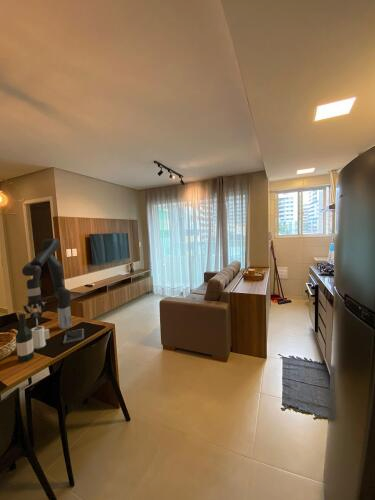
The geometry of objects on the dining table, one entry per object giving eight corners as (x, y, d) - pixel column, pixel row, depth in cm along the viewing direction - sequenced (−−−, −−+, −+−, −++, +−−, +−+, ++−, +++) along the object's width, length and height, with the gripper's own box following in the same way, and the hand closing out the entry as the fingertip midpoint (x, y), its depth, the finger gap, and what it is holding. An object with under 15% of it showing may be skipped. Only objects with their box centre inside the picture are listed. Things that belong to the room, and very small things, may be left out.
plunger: (42, 327, 153) (40, 310, 152) (41, 330, 148) (40, 312, 147) (33, 329, 150) (32, 312, 149) (32, 332, 146) (30, 314, 144)
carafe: (50, 341, 157) (48, 324, 156) (49, 345, 150) (47, 328, 149) (33, 345, 152) (31, 327, 151) (32, 350, 145) (30, 332, 144)
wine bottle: (24, 355, 139) (19, 311, 137) (37, 354, 140) (32, 310, 137) (14, 363, 131) (9, 316, 128) (29, 362, 132) (24, 315, 129)
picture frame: (65, 334, 168) (63, 344, 152) (65, 331, 168) (63, 342, 152) (84, 330, 174) (83, 340, 158) (83, 327, 174) (83, 337, 158)
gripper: (46, 291, 154) (49, 314, 155) (22, 294, 147) (24, 318, 148) (46, 293, 147) (48, 317, 149) (20, 297, 140) (23, 322, 142)
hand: (36, 317), depth 148 cm, fingers closed on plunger, 3 cm apart
